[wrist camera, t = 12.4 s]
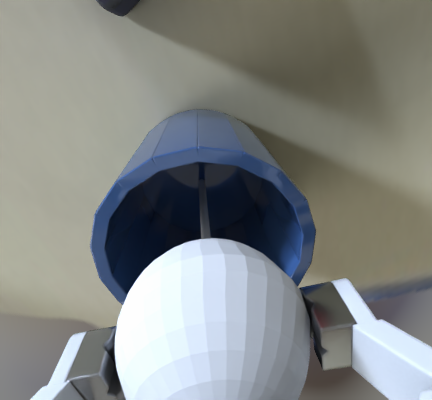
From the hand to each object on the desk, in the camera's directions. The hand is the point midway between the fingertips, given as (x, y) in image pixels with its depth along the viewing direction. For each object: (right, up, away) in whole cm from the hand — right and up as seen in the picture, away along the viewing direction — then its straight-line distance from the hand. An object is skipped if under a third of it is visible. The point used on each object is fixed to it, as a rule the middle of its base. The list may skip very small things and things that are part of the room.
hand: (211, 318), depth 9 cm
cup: (-1, +6, +11) cm, 12 cm away
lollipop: (-1, +5, +10) cm, 12 cm away
